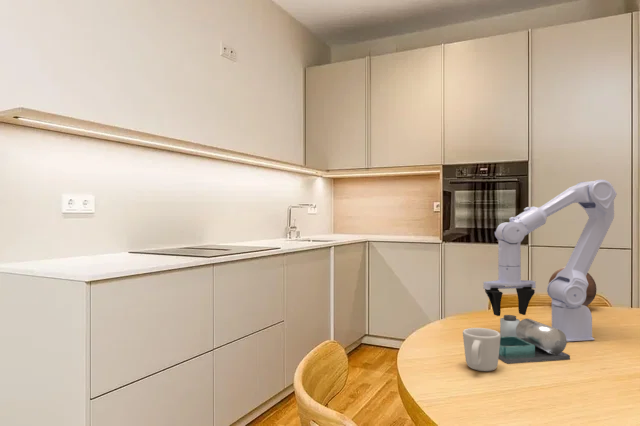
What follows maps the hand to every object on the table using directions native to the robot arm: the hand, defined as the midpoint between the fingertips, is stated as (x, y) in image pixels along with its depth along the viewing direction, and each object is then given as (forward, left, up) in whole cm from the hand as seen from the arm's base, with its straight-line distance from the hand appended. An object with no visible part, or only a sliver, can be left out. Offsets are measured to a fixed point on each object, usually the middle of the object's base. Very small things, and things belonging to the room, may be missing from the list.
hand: (509, 314), depth 124 cm
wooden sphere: (-43, -30, -7) cm, 53 cm away
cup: (+21, +22, -7) cm, 31 cm away
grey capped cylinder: (0, 0, -6) cm, 6 cm away
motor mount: (+5, +13, -6) cm, 15 cm away
